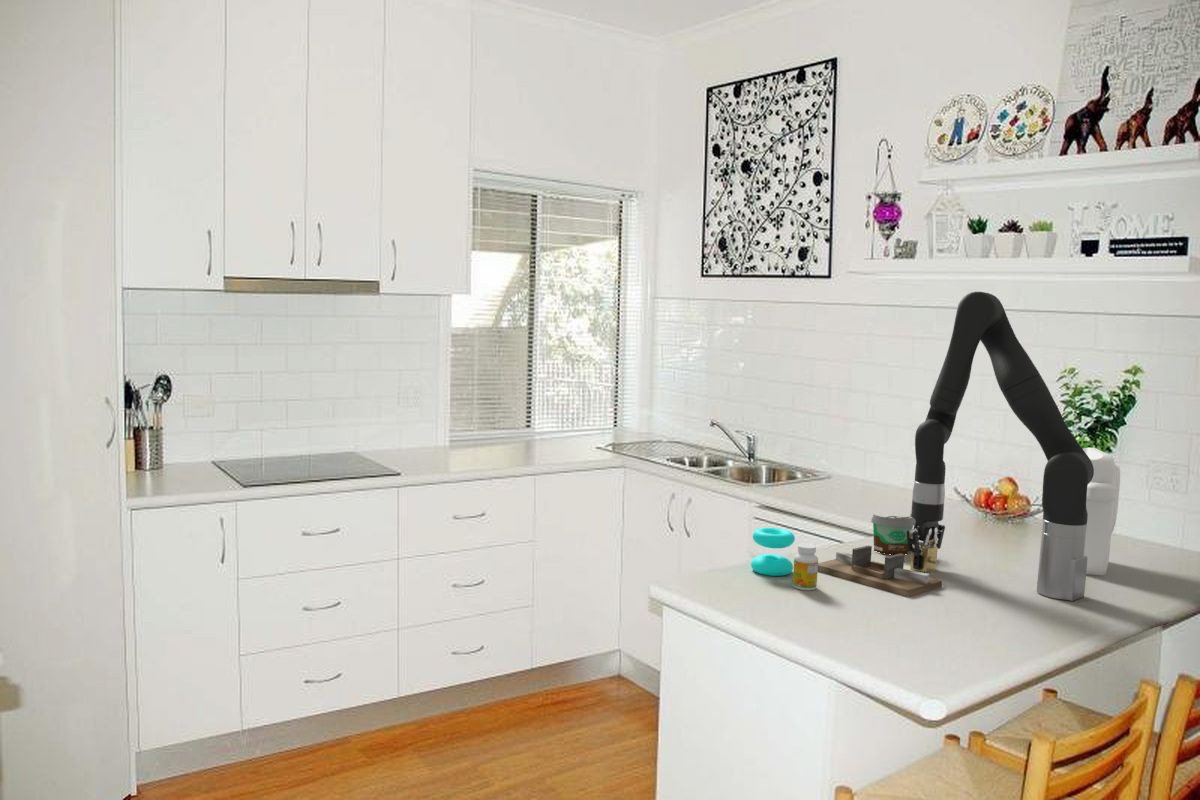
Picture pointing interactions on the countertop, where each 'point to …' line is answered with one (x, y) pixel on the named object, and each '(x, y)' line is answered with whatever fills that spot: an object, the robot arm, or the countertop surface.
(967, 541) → the countertop surface
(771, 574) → the donuts
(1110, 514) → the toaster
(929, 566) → the tan block
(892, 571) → the board
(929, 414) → the robot arm
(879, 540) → the food container
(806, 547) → the supplement bottle
